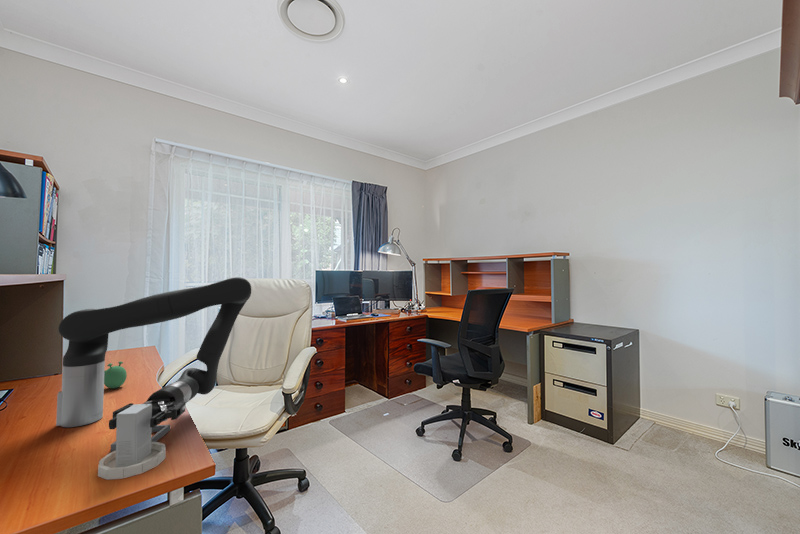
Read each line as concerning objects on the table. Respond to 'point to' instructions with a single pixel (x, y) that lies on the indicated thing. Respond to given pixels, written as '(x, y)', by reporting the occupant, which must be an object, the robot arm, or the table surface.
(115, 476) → the bowl
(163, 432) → the tray
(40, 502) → the table surface
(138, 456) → the skincare box
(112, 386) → the alien toy
